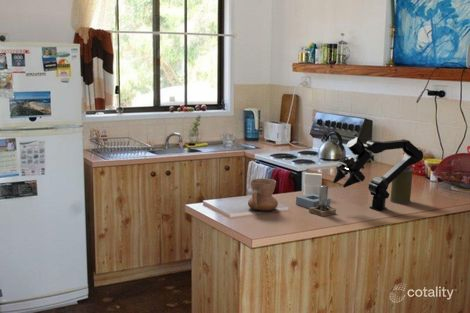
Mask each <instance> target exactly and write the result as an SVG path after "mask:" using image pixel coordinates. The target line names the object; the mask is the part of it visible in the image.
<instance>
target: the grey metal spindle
mask: <svg viewBox="0 0 470 313" xmlns="http://www.w3.org/2000/svg"><path fill="white" fill-rule="evenodd" d="M328 193H329V186H328V185H324V184H323V185H322V184H321V186H320V188H319V205H318V210H321V211H325V210H327V198H328V195H329V194H328Z"/></svg>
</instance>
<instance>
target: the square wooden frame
mask: <svg viewBox="0 0 470 313" xmlns="http://www.w3.org/2000/svg"><path fill="white" fill-rule="evenodd" d="M308 212H309V213H311V214H314V215H317V216H321V217H325V216H326V217H327V216H331V215H335V214H337V213H336V212H337V209H336V208H332V207H330V206H329V207H327V210H325V211H321V210H318V206H316V207H311V208H308Z"/></svg>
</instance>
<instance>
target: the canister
mask: <svg viewBox="0 0 470 313" xmlns="http://www.w3.org/2000/svg"><path fill="white" fill-rule="evenodd" d="M413 172H414V169H413V168H410V166H409V167H408V168H406V169H405V170H404V171H403V172H402V173H401V174H400V175H399V176H397V177H396V178H395V179H394V180H393V181H392V182H391V189H390V191H391V192H390V199H389V201H390V202H391V203H394V204H399V203H401V204H402V205H407V204H406V203H408V204H410V203H411V195H412V194H411V193H412V182H413ZM401 204H400V205H401Z"/></svg>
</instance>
